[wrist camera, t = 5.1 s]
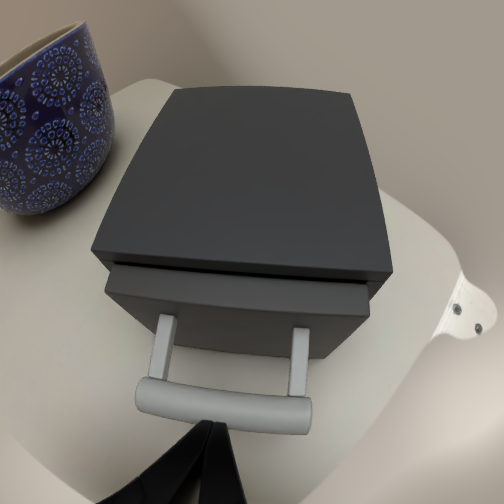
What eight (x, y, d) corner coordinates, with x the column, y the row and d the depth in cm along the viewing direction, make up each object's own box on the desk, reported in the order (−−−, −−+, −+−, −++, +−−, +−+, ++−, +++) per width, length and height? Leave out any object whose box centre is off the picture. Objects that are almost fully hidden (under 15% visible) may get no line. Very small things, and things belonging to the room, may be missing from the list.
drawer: (320, 425, 13) (368, 437, 7) (155, 406, 14) (78, 396, 7) (323, 211, 20) (343, 123, 14) (198, 204, 21) (175, 118, 15)
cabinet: (332, 342, 16) (394, 272, 8) (164, 327, 17) (89, 250, 9) (328, 197, 22) (350, 93, 14) (199, 190, 23) (174, 88, 15)
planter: (89, 117, 32) (55, 27, 19) (159, 148, 26) (120, 10, 14) (-1, 197, 26) (-57, 114, 13) (34, 267, 20) (-72, 149, 7)
